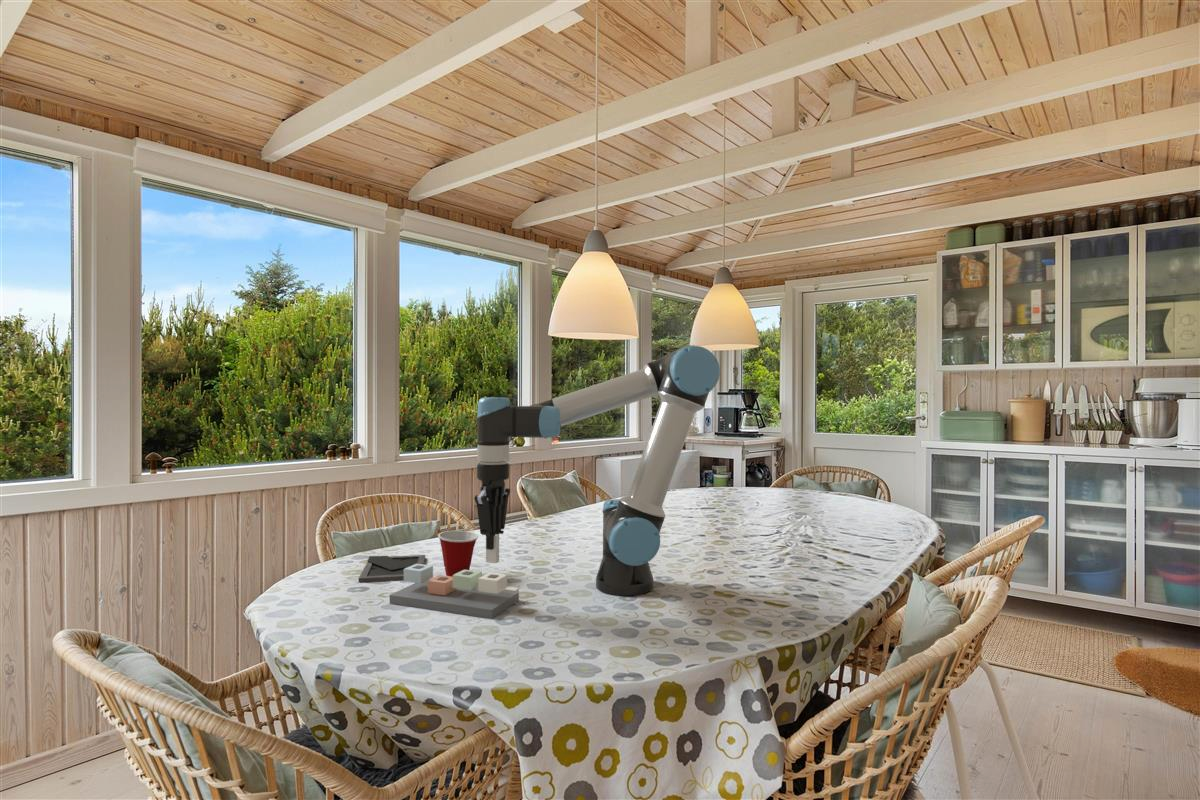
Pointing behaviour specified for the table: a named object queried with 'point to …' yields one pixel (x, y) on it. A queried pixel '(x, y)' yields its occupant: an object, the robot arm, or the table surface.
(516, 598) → the keypad base
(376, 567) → the picture frame
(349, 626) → the table surface
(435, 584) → the key terracotta
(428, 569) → the key blue
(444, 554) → the plastic cup
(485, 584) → the key ivory
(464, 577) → the key sage
